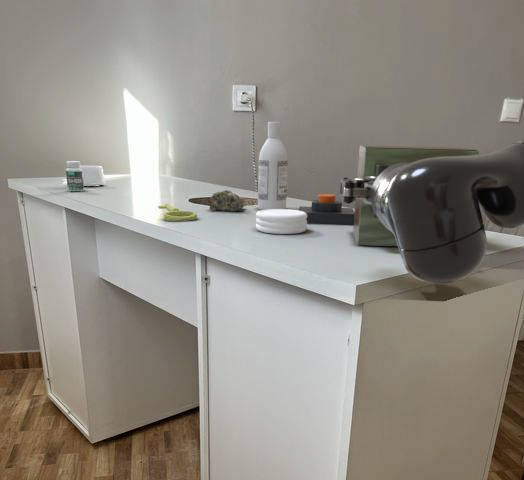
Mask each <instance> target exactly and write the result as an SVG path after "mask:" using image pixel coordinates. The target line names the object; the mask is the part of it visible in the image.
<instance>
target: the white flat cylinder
mask: <svg viewBox="0 0 524 480" xmlns="http://www.w3.org/2000/svg"><path fill="white" fill-rule="evenodd" d="M255 216H256V219H255V222H256V225H255V228H256V230H257V231H259V232H261V233H266V234H274V235H295V234H300V233H304V232H306V230H307V229H308V227H307V224H308V223H307V220H306V218H307V214H306V213H305V212H303V211H299V209H288V208H287V209H267V210H258V211H257V212H256V213H255Z"/></svg>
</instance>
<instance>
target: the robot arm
mask: <svg viewBox="0 0 524 480" xmlns="http://www.w3.org/2000/svg"><path fill="white" fill-rule="evenodd" d="M339 186H340V188H339V199H340V200H341V202H342V203H346V204H351V203H354V202H355V201H356V199H362V200H363V202H364V203H365V204H370V205H372V208H373V210H374V212H375V214H376V216H377V217H378V218H379V220H380V221H381V223H382V224H383V225H384V226H385V227H386V228H387V229H388V230H390V231H391V232H392V233H393V234H394V236H395V238H396V241H397V245H398V246H397V248H398V251H399V254H400V257H401V260H402V262H403V263H402V264H403V266H404V268H405V270H406V271H407V273H409V275H410V276H412V277H413V278H414V279H416V280H418V281H420V282H423V283H426V284H429V285H448V284H452V283H456V282H459V281H461V280H464V279H466V278H467V277H470V275H472V274H474V272H476V270H478V269H479V267H480V266H481V264H482V263H483V261H484V260H485V257H486V255H487V250H488V238H487V233H486V228H485V224H484V219H483V215H484V216H485V217H486V219H488V220H489V221H490V222H491V223H492V224H493V225H495V226H496V227H500V228H503V229H517V228H520V227H524V138H522V139H520V140H518V141H516V142H514V143H511V144H509V145H506V146H503V147H501V148H498V149H495V150H491V151H488V152H482V153H479V154H476V155H467V156H446V157H434V158H427V159H422V160H418V161H415V162H412V163H398V164H394V165H392V166H390V167H388V168H386V169H385V170H384V171H383V172H382V173H381V174H380V175H379V176H378V177H377V176H366V177H365V179H363V178H360V177H358V178H354V179H351V178H348V177H343V178H340V185H339ZM482 213H483V215H482Z"/></svg>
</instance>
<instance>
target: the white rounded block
mask: <svg viewBox="0 0 524 480" xmlns="http://www.w3.org/2000/svg"><path fill="white" fill-rule="evenodd" d="M80 168H81V169H82V171H83V183H84V186H96V185H104V184H105V185H106V179H105V175H104V169H103V166H101V165H81V167H80ZM103 182H105V183H103ZM90 183H91V184H90ZM92 183H101V184H92ZM105 185H104V186H105Z"/></svg>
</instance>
